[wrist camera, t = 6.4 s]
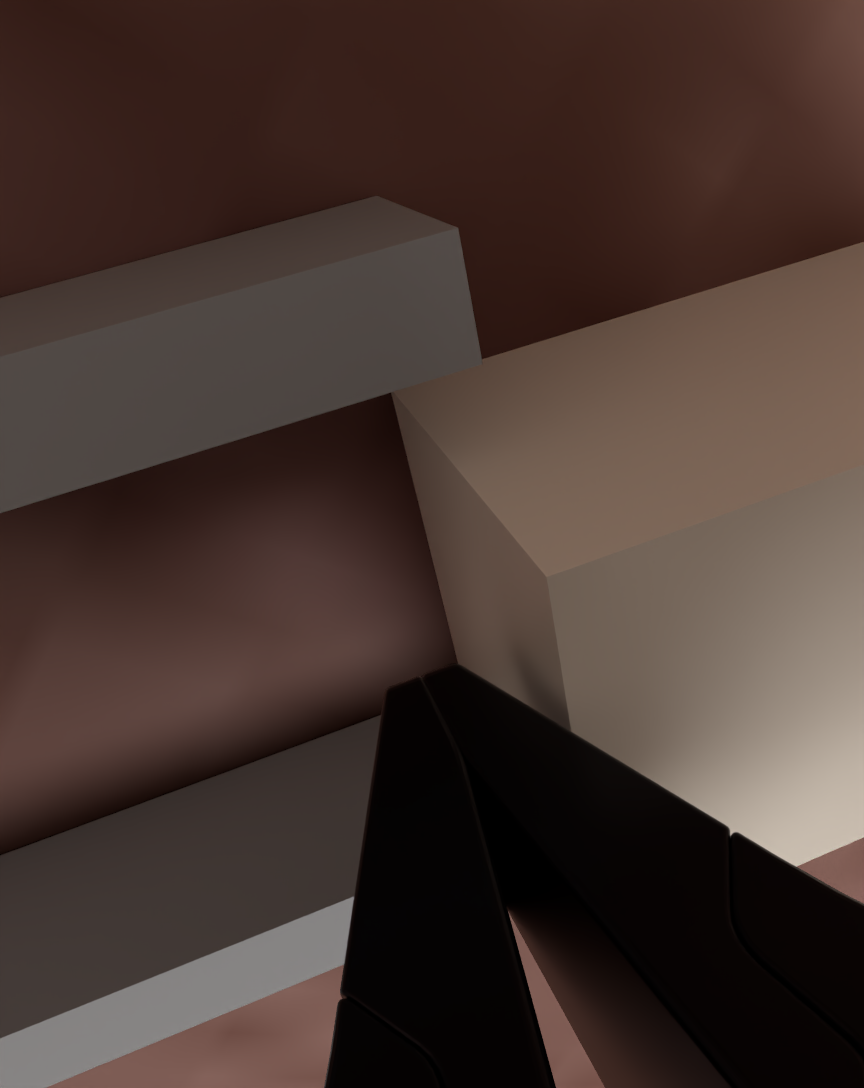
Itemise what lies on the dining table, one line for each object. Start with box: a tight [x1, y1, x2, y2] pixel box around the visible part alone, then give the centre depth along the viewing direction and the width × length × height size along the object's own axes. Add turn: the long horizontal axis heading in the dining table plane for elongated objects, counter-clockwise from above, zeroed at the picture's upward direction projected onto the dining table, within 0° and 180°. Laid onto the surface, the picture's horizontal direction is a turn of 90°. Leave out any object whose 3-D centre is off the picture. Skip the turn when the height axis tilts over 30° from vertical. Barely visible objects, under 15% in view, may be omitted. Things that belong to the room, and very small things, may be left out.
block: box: [391, 242, 864, 866], centre depth 10 cm, size 10×5×5 cm, turn 102°
